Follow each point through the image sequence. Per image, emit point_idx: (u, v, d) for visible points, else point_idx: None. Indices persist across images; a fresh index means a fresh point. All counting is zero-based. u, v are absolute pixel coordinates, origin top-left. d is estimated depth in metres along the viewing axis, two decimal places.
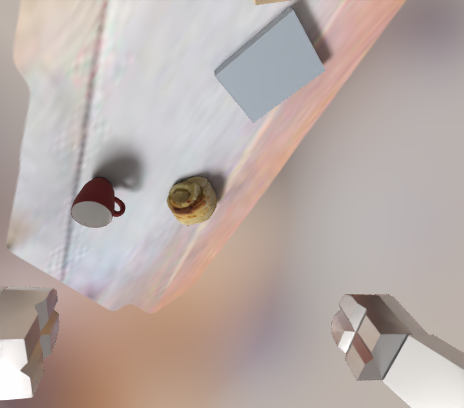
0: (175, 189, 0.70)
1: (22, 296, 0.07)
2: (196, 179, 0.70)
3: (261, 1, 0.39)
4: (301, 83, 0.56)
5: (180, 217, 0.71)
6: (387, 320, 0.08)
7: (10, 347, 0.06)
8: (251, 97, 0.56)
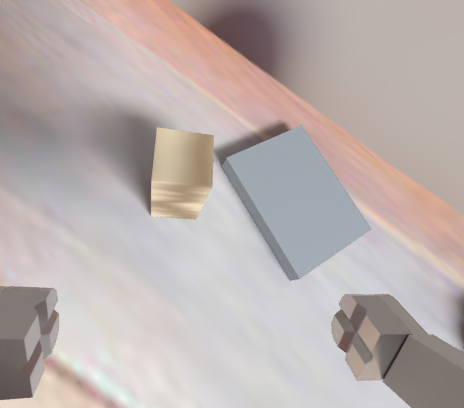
0: None
1: (22, 296, 0.07)
2: None
3: (209, 178, 0.26)
4: (316, 155, 0.39)
5: None
6: (387, 320, 0.08)
7: (10, 347, 0.06)
8: (333, 226, 0.36)
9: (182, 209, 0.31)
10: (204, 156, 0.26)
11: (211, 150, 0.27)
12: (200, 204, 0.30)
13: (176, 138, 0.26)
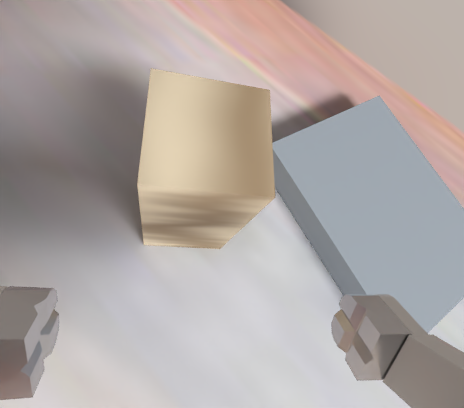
0: None
1: (22, 296, 0.07)
2: None
3: (266, 179, 0.12)
4: (406, 142, 0.25)
5: None
6: (387, 320, 0.08)
7: (10, 347, 0.06)
8: (445, 258, 0.22)
9: (200, 236, 0.17)
10: (254, 131, 0.12)
11: (267, 119, 0.12)
12: (236, 229, 0.16)
13: (193, 93, 0.12)
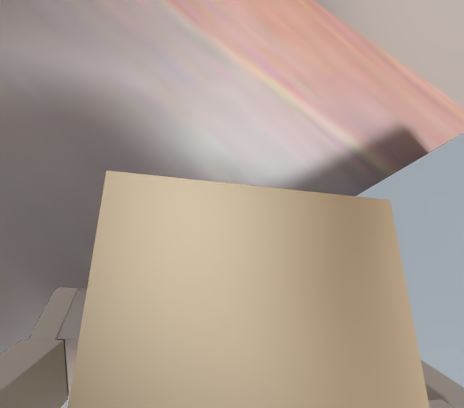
0: None
1: None
2: None
3: None
4: None
5: None
6: None
7: None
8: None
9: None
10: (373, 327, 0.05)
11: (398, 285, 0.05)
12: None
13: (217, 232, 0.05)
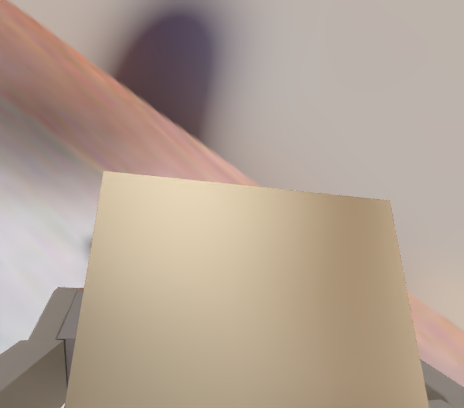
0: None
1: None
2: None
3: None
4: None
5: None
6: None
7: None
8: None
9: None
10: (373, 330, 0.05)
11: (398, 287, 0.05)
12: None
13: (216, 233, 0.05)
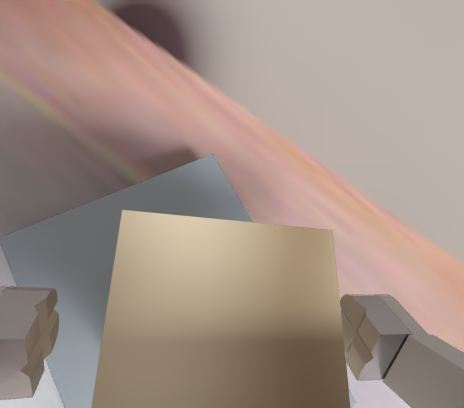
0: None
1: (22, 296, 0.07)
2: None
3: None
4: None
5: None
6: (387, 320, 0.08)
7: (10, 347, 0.06)
8: None
9: None
10: (311, 325, 0.07)
11: (333, 295, 0.07)
12: None
13: (200, 254, 0.06)
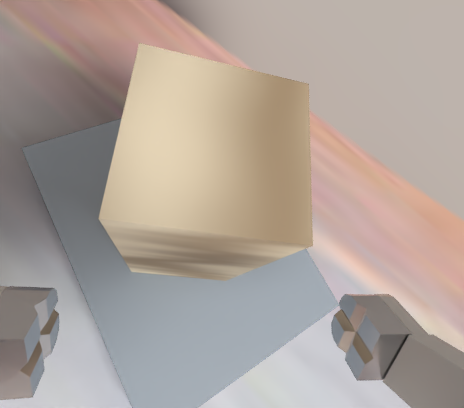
0: None
1: (22, 296, 0.07)
2: None
3: (301, 216, 0.08)
4: None
5: None
6: (387, 320, 0.08)
7: (10, 347, 0.06)
8: (252, 303, 0.17)
9: (200, 270, 0.13)
10: (284, 142, 0.08)
11: (304, 126, 0.09)
12: (247, 268, 0.12)
13: (198, 81, 0.08)
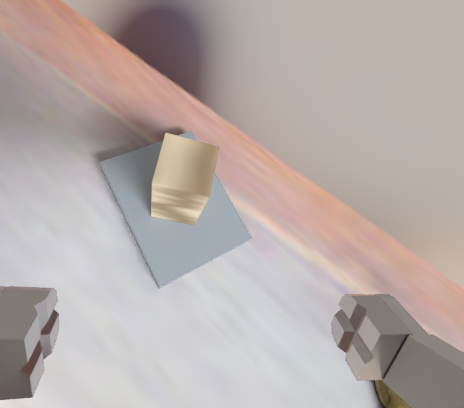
0: None
1: (22, 296, 0.07)
2: (381, 384, 0.36)
3: (208, 187, 0.26)
4: None
5: None
6: (387, 320, 0.08)
7: (10, 347, 0.06)
8: (208, 234, 0.35)
9: (181, 214, 0.32)
10: (207, 165, 0.27)
11: (214, 161, 0.27)
12: (198, 211, 0.30)
13: (182, 145, 0.27)
